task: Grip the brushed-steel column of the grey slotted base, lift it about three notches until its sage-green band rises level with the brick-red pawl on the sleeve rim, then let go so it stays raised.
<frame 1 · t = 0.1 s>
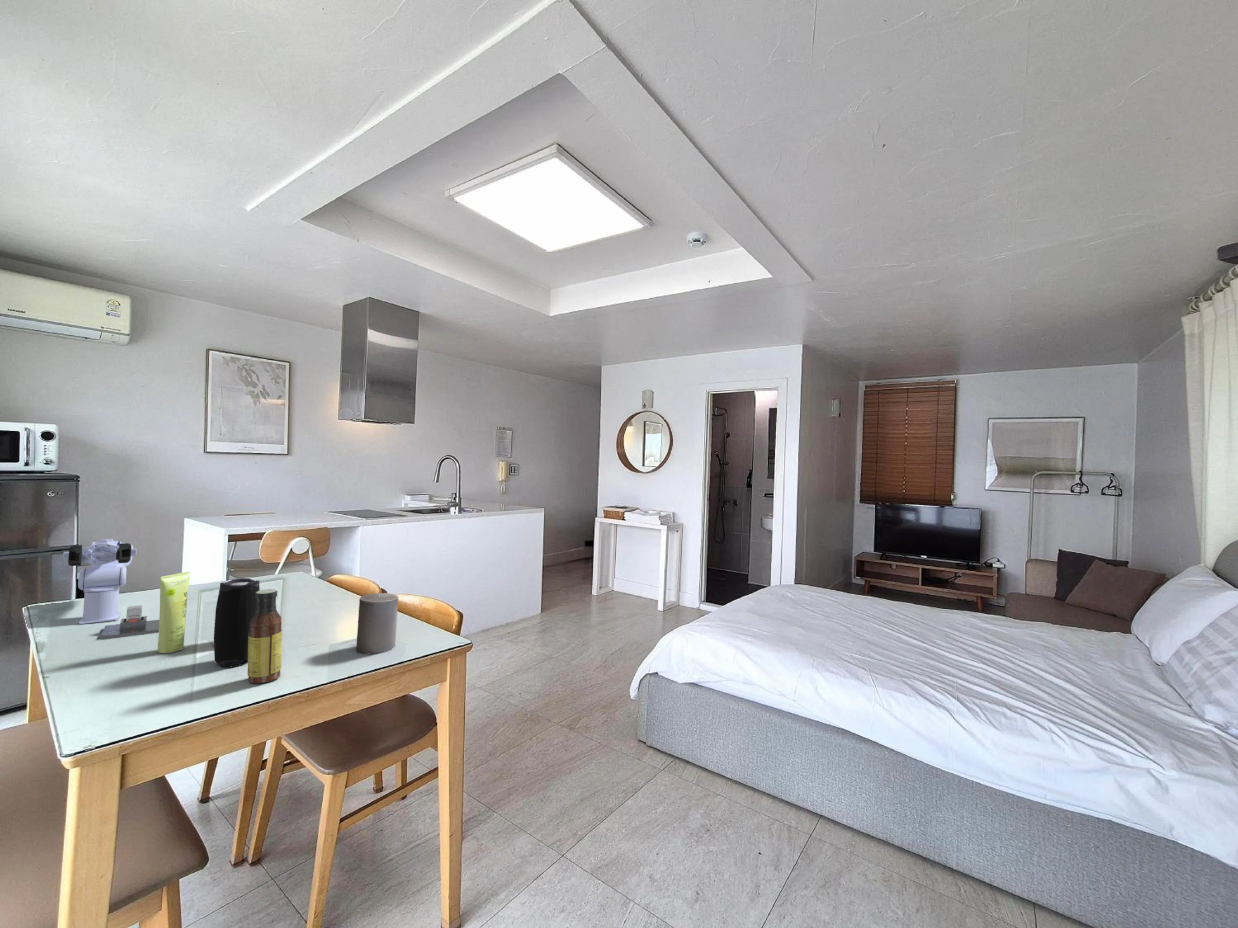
hand: (98, 555, 137), 22 cm above the table, tool horizontal, fingers open, 7 cm apart
grey slotted base: (133, 630, 142), on the table
column: (133, 618, 142), point 3 cm above the table, slide at 0.0 cm
pillar candle: (376, 648, 136), on the table
tube: (169, 651, 128), on the table
sauce bottle: (263, 680, 113), on the table
portable speaker: (234, 662, 122), on the table
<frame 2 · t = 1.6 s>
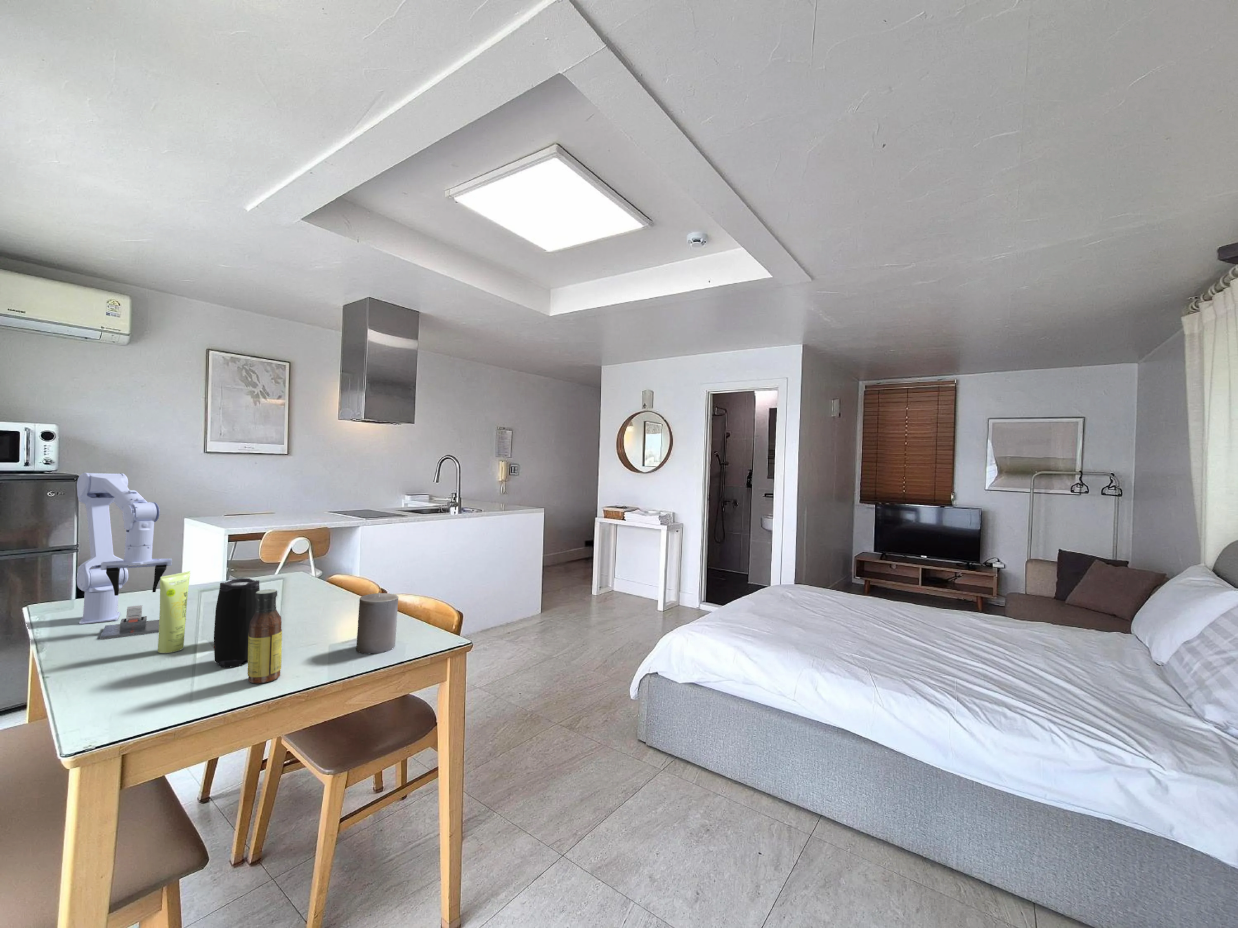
hand: (135, 593, 143), 10 cm above the table, tool pointing down, fingers open, 7 cm apart
nothing on the table moved.
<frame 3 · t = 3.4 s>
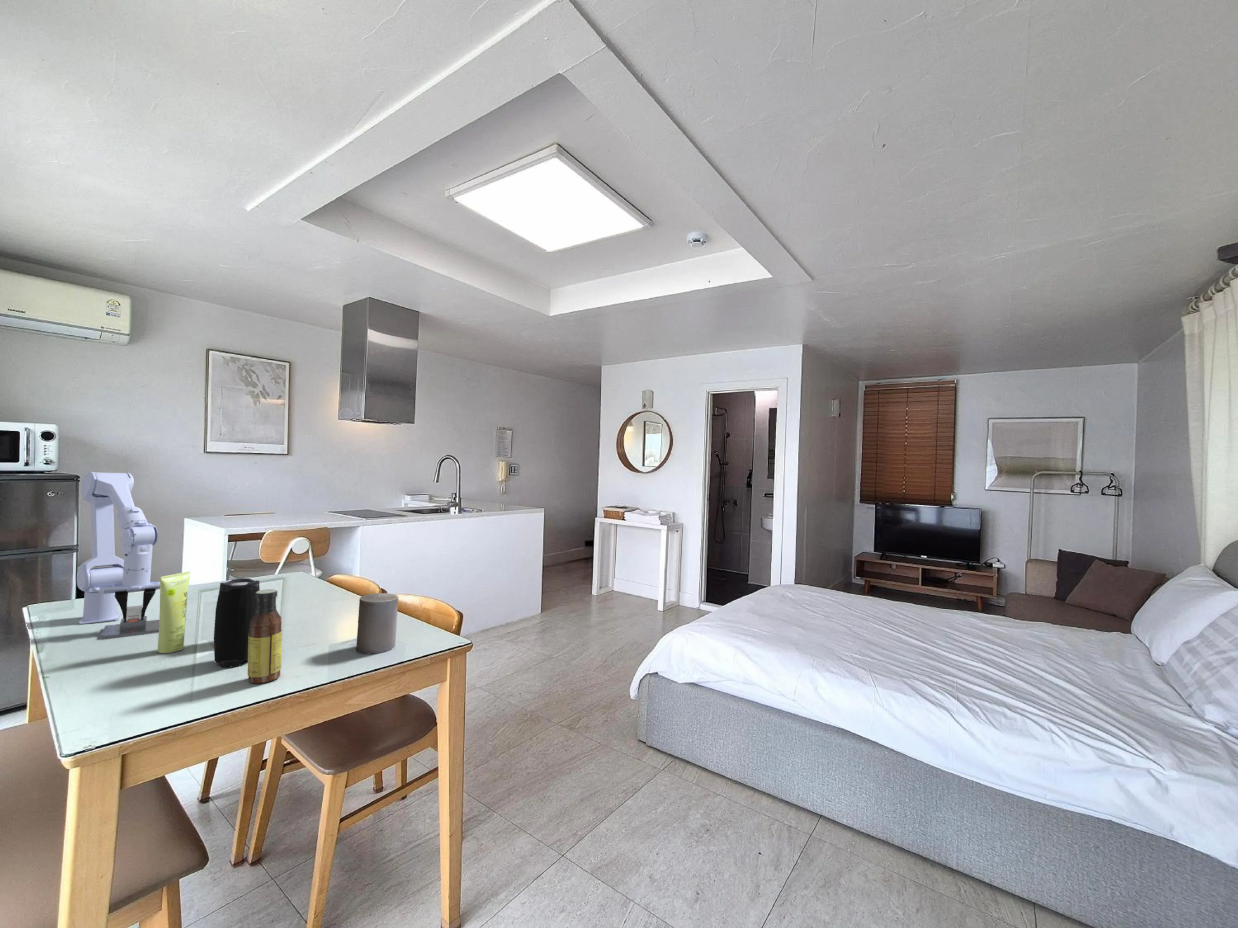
hand: (134, 616, 142), 4 cm above the table, tool pointing down, fingers closed on column, 3 cm apart
column: (133, 618, 142), point 3 cm above the table, slide at 0.0 cm, touching gripper
everything else where it was.
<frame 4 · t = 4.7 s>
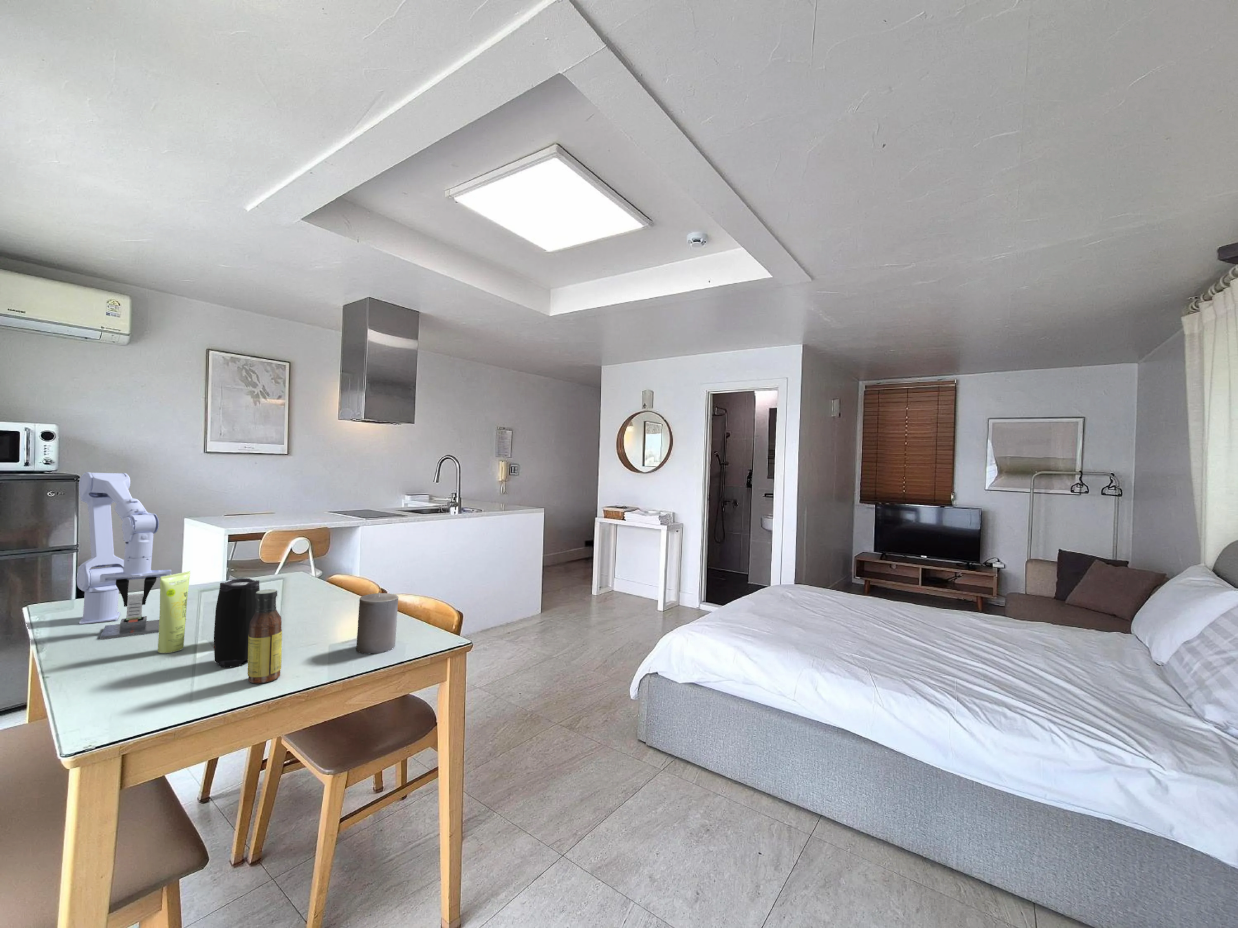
hand: (134, 604, 143), 7 cm above the table, tool pointing down, fingers closed on column, 3 cm apart
column: (134, 606, 142), point 7 cm above the table, slide at 3.3 cm, touching gripper
everything else where it was.
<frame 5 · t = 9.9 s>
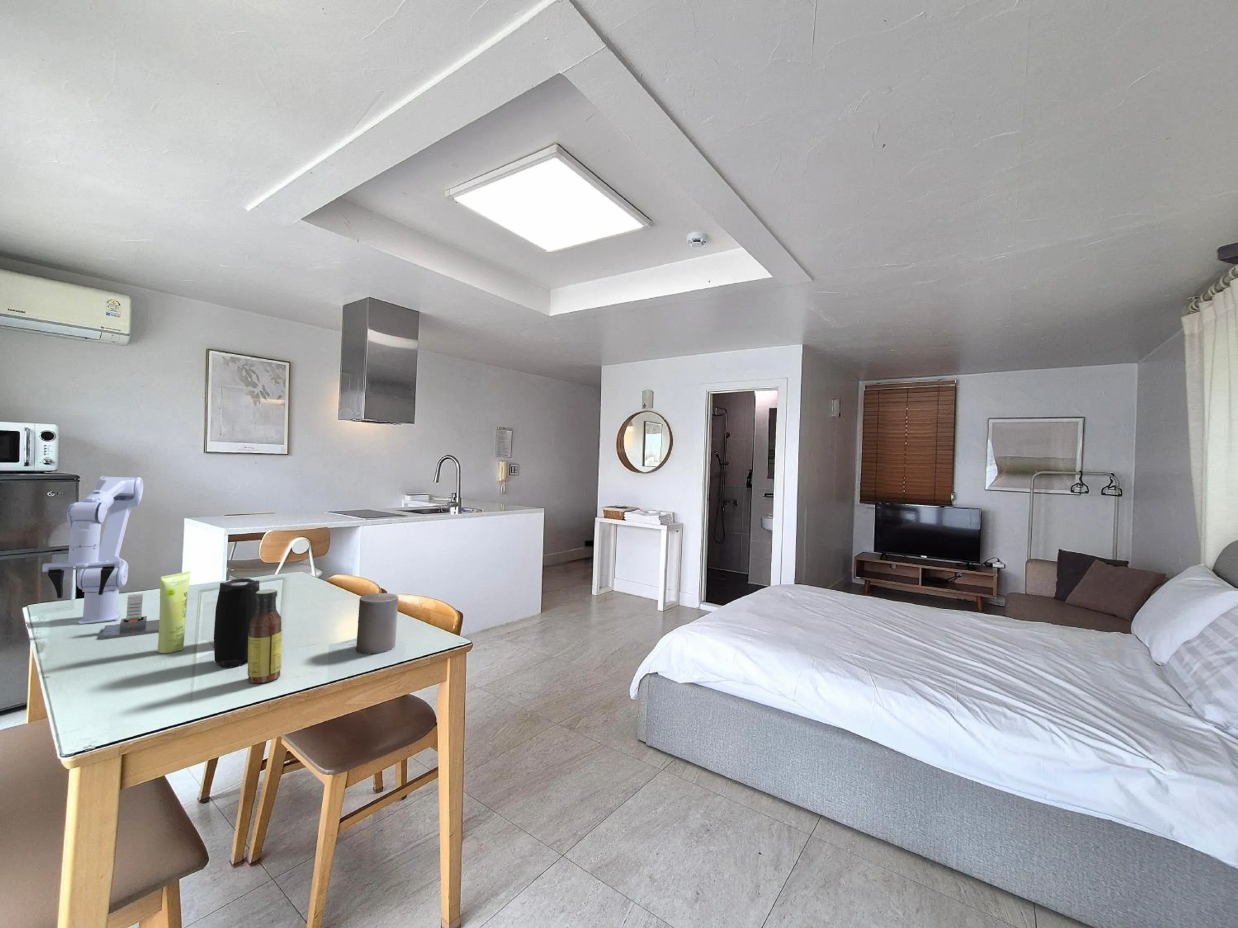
hand: (80, 595, 138), 10 cm above the table, tool pointing down, fingers open, 7 cm apart
column: (134, 606, 142), point 7 cm above the table, slide at 3.3 cm
everything else where it was.
at the end: column slide at 3.3 cm; the gripper is holding nothing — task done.
